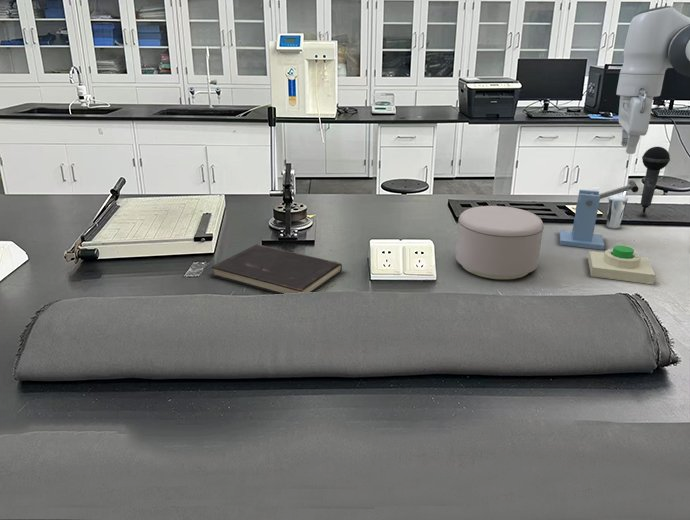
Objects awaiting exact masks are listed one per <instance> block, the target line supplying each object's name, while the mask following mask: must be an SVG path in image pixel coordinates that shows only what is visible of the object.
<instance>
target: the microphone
mask: <svg viewBox="0 0 690 520" xmlns="http://www.w3.org/2000/svg"><path fill="white" fill-rule="evenodd" d="M670 156H671V155H670V153H669V151H668V150H667V149H666V148H664V147H662V146H653V147H650V148H648V149H647V150H645V152H644V153H643V155H642V156H641V159H642V164H643V166H644V167H645V168H646V171H645V177H644V183H643V187H642V193H641V198H640V205H641V207H642V212H640V216H641V217H645V216H646V215H647V213H646V210H647V208H649V207H651V205H652V203H653V198H654V194H655V190H656V188H657V187H656V186H657V183H658V178H659V177H660V172H661V170H663V169H665V168H666V167H667V166H668V164H669V163H670V162H671V157H670Z"/></svg>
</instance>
